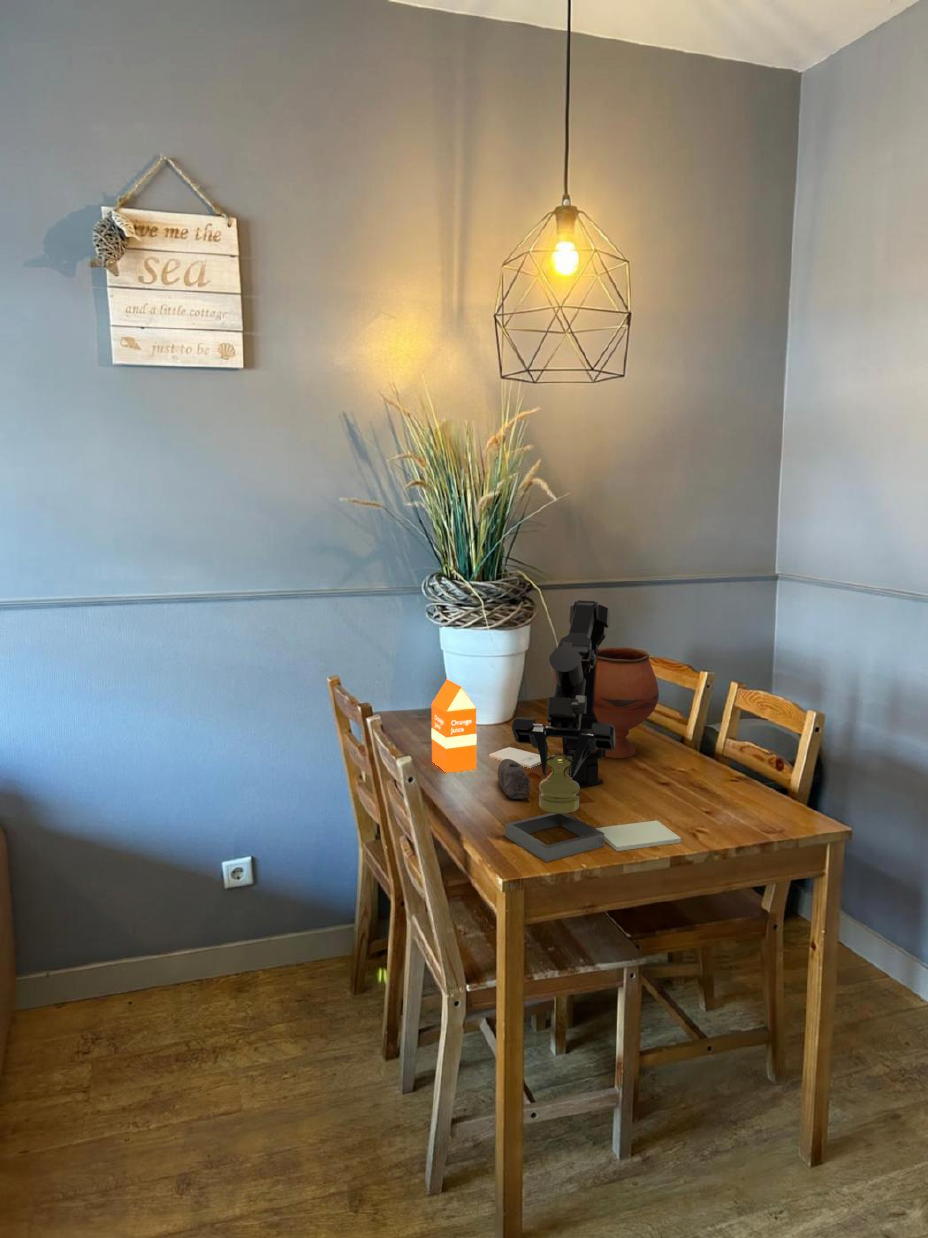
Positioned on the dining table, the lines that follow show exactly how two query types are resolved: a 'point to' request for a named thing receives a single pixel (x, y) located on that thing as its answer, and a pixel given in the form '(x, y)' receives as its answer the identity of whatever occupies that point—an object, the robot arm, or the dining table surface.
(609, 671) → the goblet
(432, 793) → the dining table surface
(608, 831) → the tile
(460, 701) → the orange juice
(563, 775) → the brass rounded piece
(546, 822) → the grey square frame
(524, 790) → the perforated stone tool
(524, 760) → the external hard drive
